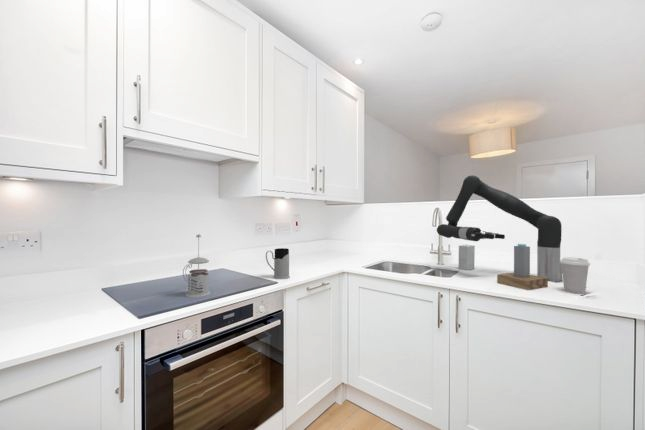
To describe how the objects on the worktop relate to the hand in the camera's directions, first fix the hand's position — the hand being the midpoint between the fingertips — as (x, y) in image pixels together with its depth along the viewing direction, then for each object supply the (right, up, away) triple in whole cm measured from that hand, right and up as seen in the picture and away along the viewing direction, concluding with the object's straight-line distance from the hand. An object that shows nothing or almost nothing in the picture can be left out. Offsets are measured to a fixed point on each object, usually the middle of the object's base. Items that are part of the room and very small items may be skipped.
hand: (498, 236), depth 139 cm
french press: (-142, -22, -23) cm, 146 cm away
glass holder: (-113, -22, +9) cm, 116 cm away
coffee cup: (+19, -23, -21) cm, 36 cm away
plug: (+4, -22, -10) cm, 24 cm away
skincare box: (+1, -23, +32) cm, 39 cm away
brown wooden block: (+4, -23, -10) cm, 25 cm away
